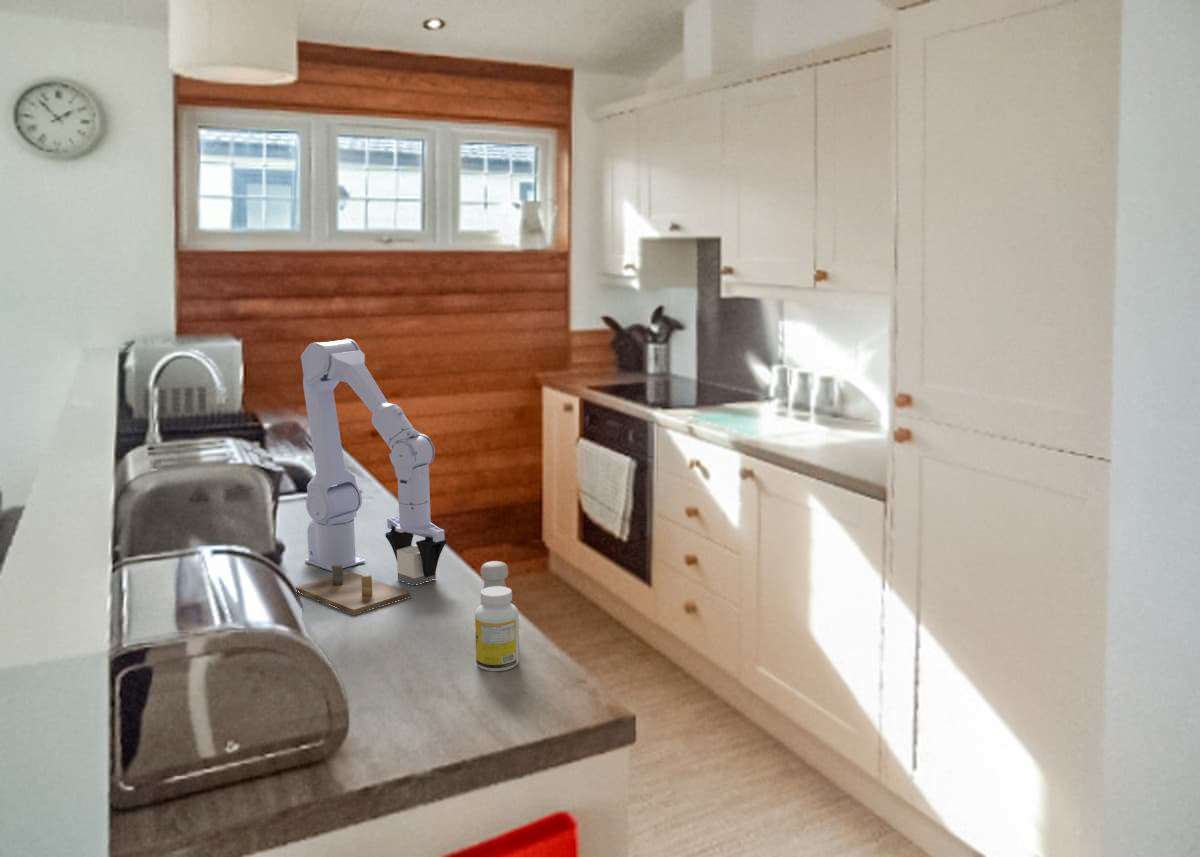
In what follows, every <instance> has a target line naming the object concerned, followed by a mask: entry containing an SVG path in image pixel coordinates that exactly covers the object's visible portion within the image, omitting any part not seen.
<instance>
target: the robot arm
mask: <svg viewBox="0 0 1200 857" xmlns="http://www.w3.org/2000/svg"><path fill="white" fill-rule="evenodd" d="M300 360H301V367H302V374H303V379H302V385H303V386H302V387H303V392H304V399H305V407H306V412H307V419H308V426H309V432H310V439H311V447H312V452H313V454H312V455H313V459H314V466H315V474H314V475H313V477H312V478H311V480H310V481H309V482H308V483H307V485H306V490H307V497H306V501H305V502H306V505H305V507H306V511H307V513H308V515H309V517H310V518H311V519H312V520H311V521H310V522H309V525H308V527H307V530H306V531H307V533H306V536H307V550H308V558H305V559H304V562H305V563H307V564H311V565H313V566H315V567H316V566H317V567H318V568H321V569H325V570H327V571H330V572H332V565H336V564H340V565H342V569H346V568H349V567H352V566H353V567H354V566H355V565H359V564H364V563H365V562H366V559H364V558H361V557H358V556H356V535H355V531H356V530H355V518H356V517H357V512H358V511H360V510H361V509H360V508H361V507H362V503H363V501H362V500H363V499H362V497H363V496H362V494H361V490H360V489H359V487H358V485H357V480H356V476H355V475H354V474H352V473H351V472H350V471H348V470H347V469H346V467H345V460H344V452H343V447H342V440H341V434H340V427H339V420H338V413H337V406H336V399H335V392H334V389H335V388H336V387H337V386H338V384H339V383H341V382H342V383H346V384H348V386H350V387H351V389H352V390H353V391H354V393H355V395H357V396H358V398H360V400H361V401H362V402H363V403H364V404H365V406H366V407H367V408H368V410H369V411H370V412H371V413H372V415H371V424H372V425H373V427H374V428H375V430H376V431H377V432H378V434H379V435H380V437H381V438H382V439H383V441H384V442H385V443H386V445H387V446H388V448H389V449H390V451H391V453H389V455H388V456H389V459H390V462H391V464H392V465H393V467H394V471H395V472H394V473H395V474H394V475H395V477H396V479H397V489H398V490H397V491H398V492H397V493H398V496H397V497H398V514H399V515H398V516H392V517H389V518H386V520H387V521H386V524H387V529H390V531H387V532H386V533H385V538H386V539H387V541H388V543H389V544H390V546H391V549H392V550H393V554H394V556H395V560H396V561H397V550H398V549H401V548H405V547H409V546H412V543H413V539H414V536H419V537H422V538H424V539H423V540H422V539H421V540H418V541H415V545H417V547H418V549H419V552H420V555H421V559H422V567H423V574H424V577H430V576H434V575H435V573H436V572H437V567H438V563H439V559H440V557H441V554H442V551H443V549H444V547H445V545H446V544H447V538H445V529H442V528H440V527H438V526H437V525H435V524H434V523H432V522H431V501H430V500H431V499H430V498H431V497H430V494H431V493H430V491H431V490H430V466H429V465H431V463H432V462H433V460H434V459H435V454H436V451H435V450H436V448H435V446H434V443H433V442H432V440H431V437H429V436H428V435H426V434H423V433H421V432H420V431H419V430H416V429H415V428H414V426H413V425H412V423H411V422H410V421H409V419H408V418H407V416H406V415H405V414H404V413H405V412H404V410H403V409H402V407H400V406H399V405H398V404H396V403H390V402H388V401H387V400H388V399H387V398H385V395H384V394H383V392H382V390H381V389H380V387H379V385H378V384H377V383H376V380H375V379H374V378H373V375H372V374H371V372H370V370H369V369H368V367H367V366H366V365H365V360H366V354H365V353H364V352H363V351H362V350H361V348H360V346H359V344H358V343H357V342H356V341H355V340H353V339H350V338H343V339H339V340H334V341H333V340H332V341H324V342H311V343H310V344H308V345H307V347H306V348H305V349H304V351H303V352H302V353H301V355H300ZM436 574H437V573H436Z"/></svg>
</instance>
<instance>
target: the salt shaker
mask: <svg viewBox="0 0 1200 857" xmlns="http://www.w3.org/2000/svg"><path fill="white" fill-rule="evenodd" d="M480 576H481V578H482V580H483V579H484V582H483V588H482V589H484V588H487V587H493V586H502V587H507V585H506V581H505V579H506V578H508V576H509V567H508V564H506V562H504V561H498V560H491V561H487V562H484V563H483V564H482V565H481V567H480ZM480 605H482V602H481V601H480Z"/></svg>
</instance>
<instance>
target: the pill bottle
mask: <svg viewBox="0 0 1200 857" xmlns="http://www.w3.org/2000/svg"><path fill="white" fill-rule="evenodd" d="M512 600H513V591H512V589H511V588H510V587H507V586H506V587H502V586H493V587H487V588H484V589H483V588H482V589H481V591H480V603H481V602H482V605H481V604H480V605H479V606H478V607H477V608H476V610H475V613H474V621H475V622H474V625H475V626H474V627H475V629H474V630H475V659H476V660H475V662H476V665H477V667H479V668H480V669H482V670H484V671H488V672H504V671H508V670H512V669H513V668H514V667H516V666H517V665H518V664H519V661H520V641H519V640H520V638H519V637H520V633H519V632H520V630H519V626H520V625H519V624H520V623H519V611H518V610H519V609H518V607H517V606H516V605H515V604H513V603H511V602H512Z"/></svg>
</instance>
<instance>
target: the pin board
mask: <svg viewBox="0 0 1200 857" xmlns="http://www.w3.org/2000/svg"><path fill="white" fill-rule="evenodd" d="M331 573H332V576H330V577H325V578H323V579H318V580H315V581H312V582H311V581H310V582H307V583H304V584H301V585H297V586H295V588H296V589H295V591H296V590H297V592H298V591H299V592H300V593H302V594H303V595H302V594H301V595H302V596H304V595H306V596H305V597H307V598H309V597H311V598H310V599H312V598H313V599H312V600H314V599H316V600H315V601H317V600H319V601H321V602H320V603H322V602H324V603H327V604H330V605H332V606H335V607H337V608H339V609H338V610H340V609H341V610H340V611H342V610H344V611H343V612H345V611H346V612H345V613H347V612H349V613H348V614H350V613H351V615H352V614H354V615H353V616H356V615H359V614H358V613H360V612H363V613H365V612H364V611H366V612H368V611H367V610H369V609H372V608H376V607H379V606H382V605H385V604H388V603H392V602H395V601H398V600H401V601H403V600H402V599H405V598H408V597H410V598H411V592H410V591H408V590H404V589H401V588H399V587H396V586H393V585H390V584H388V583H384V582H382V581H379V580H377V579H373V577H372V574H363V575H362V574H359V573H356V572H353V571H348V572H344V573H343V568H342V565H340V564H336V565H332V571H331ZM297 592H296V593H297ZM408 599H409V598H408ZM405 600H406V599H405ZM319 601H318V602H319ZM398 602H399V601H398ZM324 603H323V604H324ZM395 603H396V602H395ZM327 604H326V605H327ZM392 604H393V603H392ZM332 606H331V607H332ZM385 606H386V605H385ZM335 607H334V608H335ZM382 607H383V606H382ZM337 608H336V609H337ZM379 608H380V607H379ZM376 609H377V608H376ZM372 610H373V609H372ZM369 611H370V610H369ZM355 614H356V615H355ZM360 614H361V613H360Z"/></svg>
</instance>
